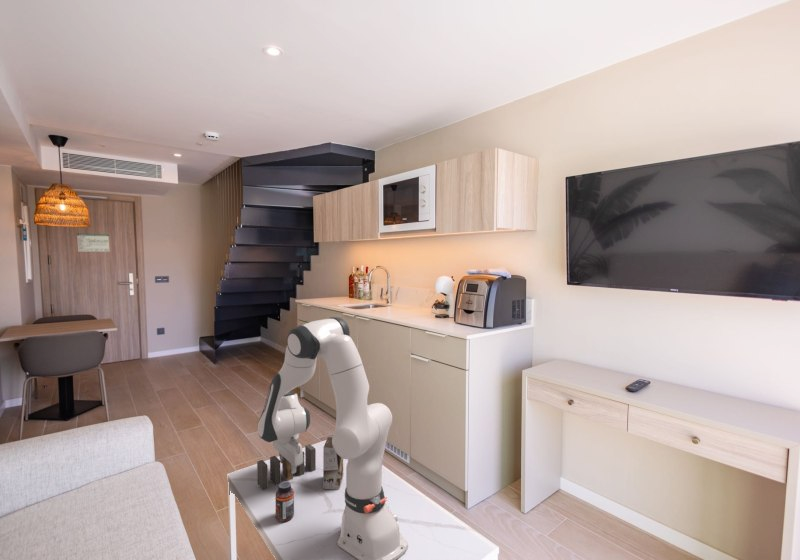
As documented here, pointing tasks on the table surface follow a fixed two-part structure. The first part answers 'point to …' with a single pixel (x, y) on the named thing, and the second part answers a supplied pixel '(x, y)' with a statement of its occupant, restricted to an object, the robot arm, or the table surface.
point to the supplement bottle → (284, 502)
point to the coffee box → (331, 467)
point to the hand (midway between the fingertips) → (287, 467)
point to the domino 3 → (286, 469)
